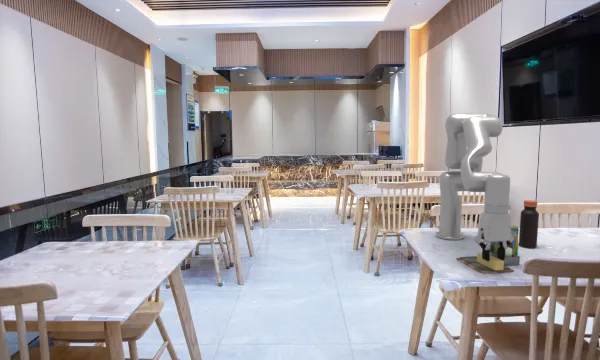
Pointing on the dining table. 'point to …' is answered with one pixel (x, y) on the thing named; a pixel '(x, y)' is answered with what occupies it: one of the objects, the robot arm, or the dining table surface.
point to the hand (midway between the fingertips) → (493, 259)
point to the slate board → (481, 265)
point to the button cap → (508, 252)
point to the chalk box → (513, 244)
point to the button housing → (508, 259)
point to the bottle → (529, 225)
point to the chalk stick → (491, 262)
